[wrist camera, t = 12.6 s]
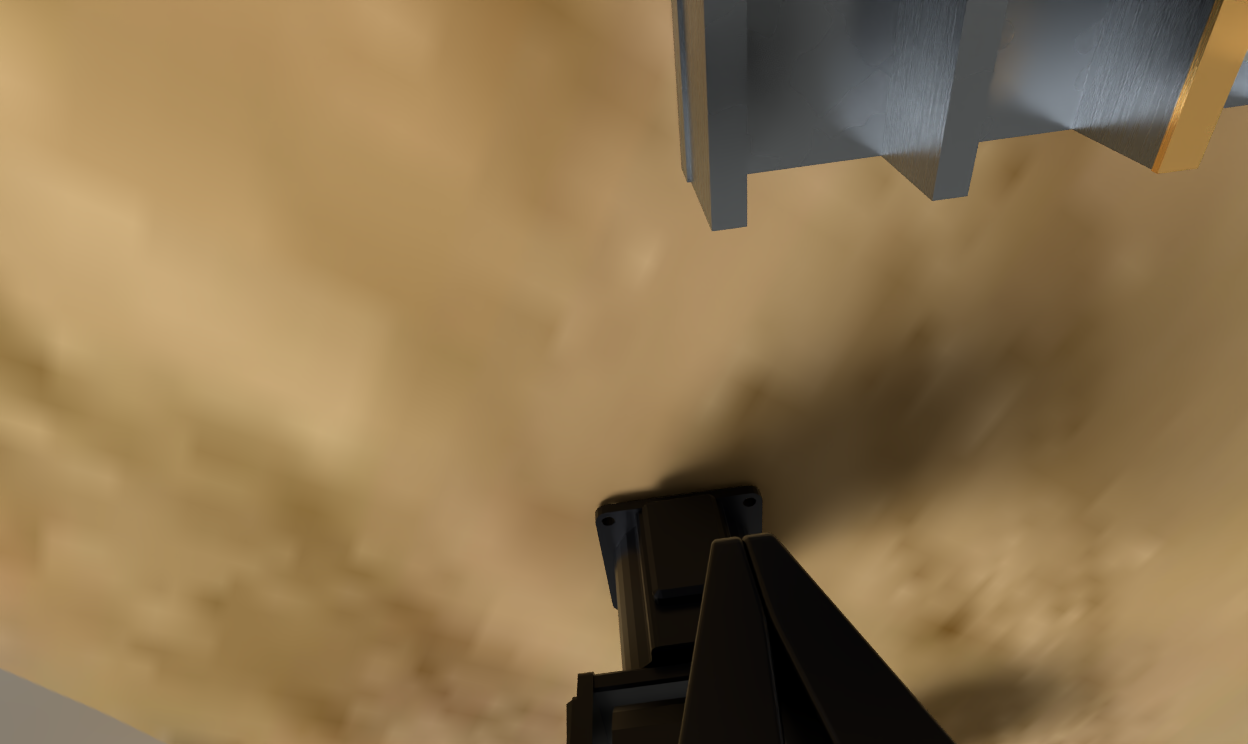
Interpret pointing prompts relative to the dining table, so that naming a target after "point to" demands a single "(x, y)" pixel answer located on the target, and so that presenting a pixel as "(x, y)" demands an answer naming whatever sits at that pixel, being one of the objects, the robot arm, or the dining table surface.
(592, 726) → the robot arm
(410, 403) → the dining table surface
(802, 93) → the rack
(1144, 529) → the dining table surface
